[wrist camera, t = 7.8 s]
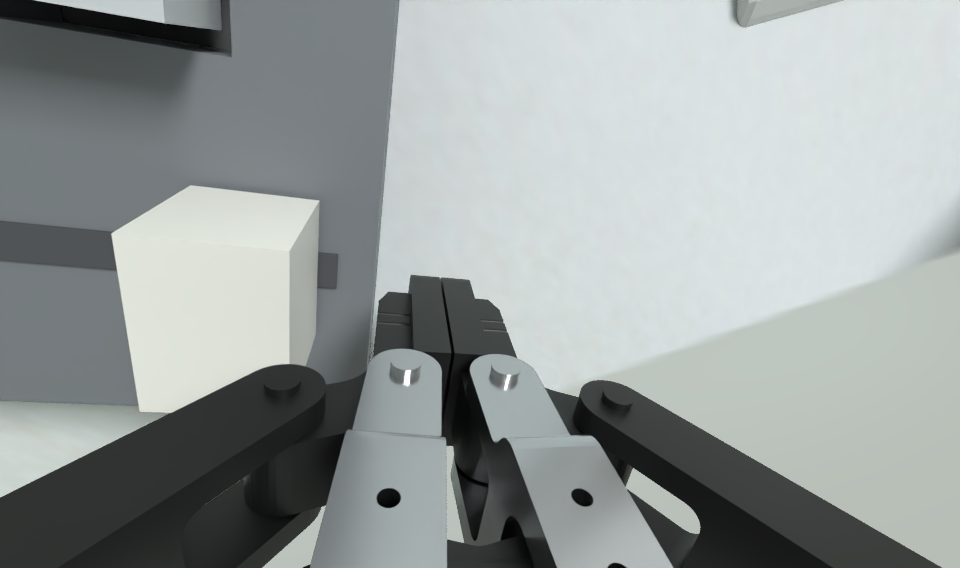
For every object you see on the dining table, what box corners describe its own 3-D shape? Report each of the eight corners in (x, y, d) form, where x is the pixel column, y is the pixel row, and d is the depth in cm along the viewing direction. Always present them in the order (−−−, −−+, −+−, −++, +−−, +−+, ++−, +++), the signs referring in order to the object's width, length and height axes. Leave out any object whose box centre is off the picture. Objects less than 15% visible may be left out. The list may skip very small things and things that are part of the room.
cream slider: (319, 200, 12) (289, 250, 9) (315, 334, 14) (289, 416, 11) (190, 185, 12) (111, 233, 8) (202, 327, 13) (139, 411, 10)
